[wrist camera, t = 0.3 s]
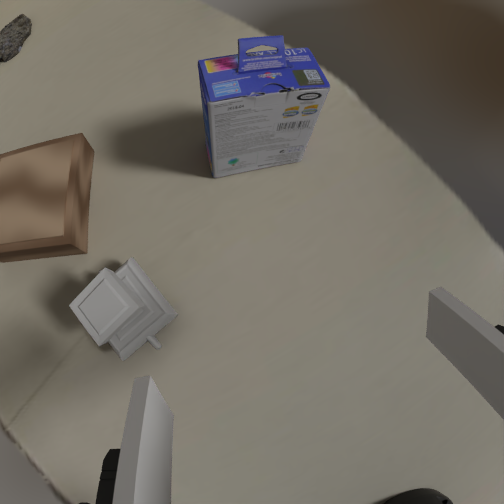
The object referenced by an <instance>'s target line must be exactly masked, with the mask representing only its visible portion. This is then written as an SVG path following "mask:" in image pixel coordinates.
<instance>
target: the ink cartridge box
mask: <svg viewBox="0 0 504 504" xmlns="http://www.w3.org/2000/svg"><path fill="white" fill-rule="evenodd" d="M260 45H265V46H271V47H276V48H277V50H269V51H259V52H251V53H246V51H247V50H248V49H251V48H254V47H257V46H260ZM198 70H199V78H200V89H201V98H202V108H203V116H204V124H205V134H206V149H207V154H208V159H209V163H210V168H211V172H212V176H213V177H214V178H218V177H223V176H227V175H232V174H237V173H242V172H247V171H252V170H257V169H262V168H267V167H272V166H278V165H283V164H288V163H294V162H299V161H301V159H302V156H303V154H304V151H305V149H306V146H307V144H308V141H309V139H310V136H311V134H312V131H313V129H314V126H315V123H316V121H317V119H318V116H319V114H320V111H321V109H322V106H323V104H324V101H325V99H326V96H327V94H328V92H329V89H330V85H329V82H328V81H327V79H326V77H325V75H324V74H323V72H322V70H321V69H320V67H319V65H318V63H317V61H316V60H315V58H314V56H313V54H312V53H311V51H310V50H309V49H308V48H294V49H285V47H284V38H283V36H267V37H252V38H242V39H238V54H236V55H229V56H222V57H216V58H210V59H204V60H199V61H198Z"/></svg>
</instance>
